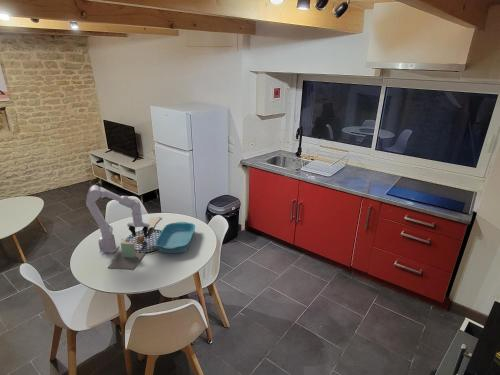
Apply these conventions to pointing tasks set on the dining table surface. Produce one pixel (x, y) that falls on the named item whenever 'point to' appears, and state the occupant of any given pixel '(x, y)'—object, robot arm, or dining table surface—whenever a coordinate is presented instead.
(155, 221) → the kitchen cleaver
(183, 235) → the casserole dish
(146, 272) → the dining table surface
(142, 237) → the tall cardboard box
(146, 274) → the dining table surface
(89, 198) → the robot arm
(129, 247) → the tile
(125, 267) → the mat
